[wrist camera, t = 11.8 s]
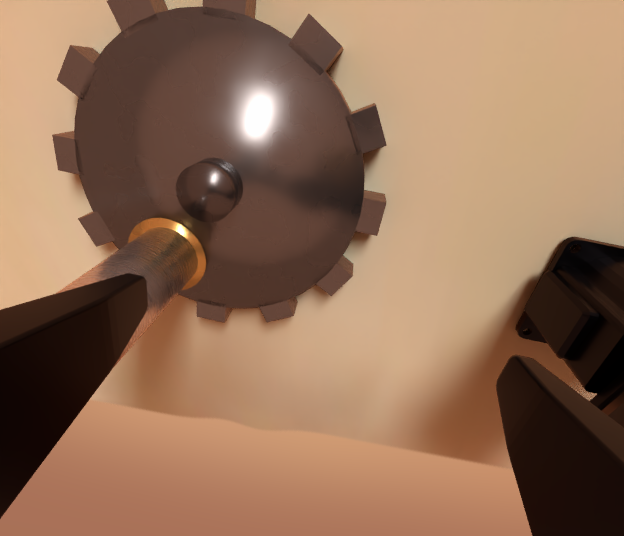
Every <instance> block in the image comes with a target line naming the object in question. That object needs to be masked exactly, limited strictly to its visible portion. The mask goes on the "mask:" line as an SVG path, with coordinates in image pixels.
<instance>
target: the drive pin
mask: <svg viewBox="0 0 624 536" xmlns="http://www.w3.org/2000/svg"><path fill="white" fill-rule="evenodd" d="M197 267H198V259H197V254H196V252H195V249H194V248H193V246H192V244H191V243H190V242H189V241H188V240H187V239H186V238H185V237H184V236H183V235H181V234H180V233H178V232H176V231H174V230H172V229H169V228H164V227H157V228H152V229H149V230H147V231H146V232H144V233H143V234H141V235H140V236H139V237H137V238H136V239H134V240H133V241H131V242H130V243H128V244H127V245H125V246H124V247H123V248H121V249H120V250H118V251H117V252H115V253H114V254H112V255H111V256H110V257H108V258H107V259H105V260H104V261H102V262H101V263H99V264H98V265H96V266H95V267H94V268H92V269H91V270H89V271H88V272H86V273H85V274H83V275H82V276H80V277H79V278H78V279H76V280H75V281H73V282H72V283H70V284H69V285H67V286H66V287H65V288H63V289H62V290H60V291H59V292H57V293H60V292H64V291H67V290H71V289H74V288H77V287H81V286H84V285H88V284H91V283H95V282H98V281H102V280H105V279H108V278H112V277H115V276H119V275H122V274H126V273H131V274H136V275H140V276H143V277H144V278H145V279H146V282H147V297H148V308H147V311H146V313H145V315H144V317H143V319H142V320H141V322H140V324H139V326H138V327H137V329H136V331H135V332H134V334H133V336H132V337H131V339H130V341H129V343H128V344H127V346H126V348H125V349H124V351H123V353H122V354H121V356H120V358H119V359H118V361H117V362H116V364H117V363H118V362H119V361H120V359H121V358H122V357H123V356H124V355H125V354H126V353H127V351H128V350H129V349H130V348H131V347H132V346H133V345H134V343H135V342H136V341H137V340H138V339H139V338H140V337H141V335H142V334H143V333H144V332H145V331H146V330H147V329H148V327H149V326H150V325H151V324H152V323H153V322H154V321H155V319H156V318H157V317H158V316H159V315H160V314H161V313H162V311H163V310H164V309H165V308H166V307H167V306H168V305H169V303H170V302H171V301H172V300H173V299H174V298H175V297H176V295H177V294H178V293H179V292H180V291H181V290H182V288H183V287H184V286H185V285H186V284H187V283H188V282H189V280H190V279H191V278H192V277H193V276H194V274H195V273H196V271H197ZM57 293H56V294H57ZM116 364H115V365H116ZM115 365H114V366H115ZM112 369H113V368H112Z"/></svg>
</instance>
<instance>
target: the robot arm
mask: <svg viewBox="0 0 624 536" xmlns="http://www.w3.org/2000/svg"><path fill="white" fill-rule="evenodd" d="M575 244H577V246H576V247H575V248H574V249H572V250H570V247H571V246H572V245H575ZM147 308H148V297H147V282H146V279H145V278H144V277H143V276H140V275H136V274H131V273H126V274H122V275H119V276H115V277H112V278H108V279H105V280H102V281H98V282H95V283H91V284H88V285H84V286H81V287H77V288H74V289H71V290H67V291H64V292H60V293H57V294H53V295H50V296H46V297H43V298H40V299H36V300H33V301H29V302H26V303H22V304H19V305H16V306H12V307H9V308H5V309H2V310H0V518H1V517H2V516H3V514H4V513H5V512H6V510H7V509H8V508H9V506H10V505H11V504H12V502H13V501H14V500H15V498H16V497H17V495H18V494H19V493H20V492H21V490H22V489H23V488H24V486H25V485H26V484H27V482H28V481H29V479H30V478H31V477H32V476H33V474H34V473H35V472H36V470H37V469H38V467H39V466H40V465H41V464H42V462H43V461H44V459H45V458H46V457H47V455H48V454H49V453H50V451H51V450H52V449H53V447H54V446H55V445H56V443H57V442H58V441H59V439H60V438H61V437H62V435H63V434H64V433H65V431H66V430H67V429H68V427H69V426H70V425H71V423H72V422H73V420H74V419H75V418H76V417H77V415H78V414H79V413H80V411H81V410H82V409H83V407H84V406H85V405H86V403H87V402H88V401H89V399H90V398H91V397H92V395H93V394H94V393H95V391H96V390H97V389H98V387H99V386H100V385H101V383H102V382H103V381H104V379H105V378H106V377H107V375H108V374H109V373H110V371H111V370H112V368H113V367H114V365H115V364H116V362H117V361H118V359H119V358H120V356H121V354H122V353H123V351H124V349H125V348H126V346H127V344H128V343H129V341H130V339H131V337H132V336H133V334H134V332H135V331H136V329H137V327H138V326H139V324H140V322H141V320H142V319H143V317H144V315H145V313H146V311H147ZM524 309H525V311H524V313H523V315H522V316H521V318H520V320H519V322H518V324H517V325H516V332H517V333H518V335H519V336H520V337H522V338H525V339H529V340H534V341H539V342H543V343H548V344H549V346H550V347H551V349H552V350H553V351H554V353H555V354H556V356H557V357H558V358H560V359H563V360H564V361H565V362H566V364H567V365H568V367H569V368H570V369H571V371H572V372H573V373H574V375H575V376H576V378H577V379H578V380H579V382H580V383H581V385H582V386H583V387H584V389H585V390H586V391H588V392H592V393H597V395H596V396H595V397H594V398H593V399H591V400H590V401H588V400H587V399H585V398H584V397H583V396H581V395H580V394H579V393H577V392H576V391H575V390H573V389H572V388H571V387H569V386H568V385H567V384H565V383H564V382H563V381H562V380H560V379H559V378H558V377H556V376H555V375H554V374H552V373H551V372H550V371H548V370H547V369H546V368H544V367H543V366H542V365H540V364H539V363H538V362H537V361H535V360H534V359H532V358H529V357H524V356H519V355H513V356H512V357H510V359H509V360H508V362H507V364H506V365H505V367H504V369H503V371H502V372H501V374H500V376H499V378H498V380H497V384H496V389H497V395H498V401H499V406H500V412H501V417H502V423H503V429H504V434H505V440H506V444H507V449H508V453H509V457H510V460H511V464H512V467H513V471H514V474H515V478H516V481H517V484H518V488H519V491H520V495H521V498H522V501H523V505H524V508H525V512H526V515H527V519H528V522H529V525H530V529H531V532H532V535H533V536H624V246H619V245H614V244H609V243H604V242H599V241H594V240H589V239H584V238H579V237H570V238H567V239H566V240H564V242H563V243H562V244H561V246H560V248H559V250H558V252H557V253H556V255H555V257H554V259H553V261H552V262H551V264H550V266H549V268H548V270H547V271H546V272H545V273H544V274H543V275H542V277H541V279H540V281H539V283H538V284H537V286H536V288H535V290H534V292H533V293H532V295H531V297H530V299H529V301H528V303H527V304H526V306H525V308H524ZM526 328H529V329H528V330H526V331H523V330H524V329H526Z"/></svg>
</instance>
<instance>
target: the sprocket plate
mask: <svg viewBox="0 0 624 536" xmlns="http://www.w3.org/2000/svg"><path fill="white" fill-rule="evenodd" d="M107 3H108V5H109V7H110V9H111V11H112V13H113V15H114V17H115V19H116V21H117V23H118V25H119V27H120V29H121V31H122V32H121V33H120V34H119V35H118V36H116V37H115V38H114V39H113V40H112V41H111V42H110V43H109V44H108V45H107V46H106V47H105V48H104V50H103V51H102V52H101V54H99V53H98V52H97V51H95V50H94V49H93V48H89V47H81V46H73V45H70V47H69V50H68V52H67V55H66V57H65V60H64V63H63V65H62V68H61V70H60V73H59V76H58V78H57V80H58V81H59V82H60V83H61V84H63V85H64V86H65V87H66V88H68V89H69V90H70V91H72V92H73V93H74V94H75V95H77V96H78V97H79V99H78V105H77V110H76V116H75V130H74V131H71V132H65V133H60V134H54V135H52V136H53V142H54V148H55V154H56V160H57V166H58V170H60V171H65V172H70V173H75V174H79V176H80V179H81V182H82V185H83V188H84V191H85V194H86V197H87V199H88V201H89V203H90V206H91V208H92V210H93V212H91V213H89V214H86V215H84V216H82V217H80V218H78V220H79V221H80V223H81V224H82V226H83V227H84V229H85V230H86V232H87V233H88V235H89V236H90V238H91V239H92V241H93V242H94V244H95V245H96V247H97V246H100V245H102V244H105V243H108V242H111V241H112V242H113V243H114V244H115V245H116V246H117V248H118V249H119V250H120V249H121V248H123V247H124V246H125V245H127V244H128V243H130V242H131V241H133V240H134V239H136V238H137V237H139V236H140V235H141V234H143V233H144V232H146V231H147V230H149V229H152V228H157V227H164V228H169V229H172V230H174V231H176V232H178V233H180V234H181V235H183V236H184V237H185V238H186V239H187V240H188V241H189V242H190V243H191V244H192V246H193V248H194V249H195V252H196V254H197V259H198V267H197V271H196V273H195V274H194V276H193V277H192V278H191V279H190V280H189V282H188V283H187V284H186V285H185V286H184V287H183V288H182V290H181V291H180V292H179V293H178V294H179V295H181V296H184V297H187V298H189V299H192V300H194V301H197V317H201V318H206V319H211V320H215V321H220V322H225V321H226V319H227V318H228V316H229V314H230V312H231V310H232V308H256V307H259V308H260V310H261V312H262V314H263V316H264V318H265V320H266V322H271V321H275V320H279V319H283V318H287V317H291V316H294V313H295V310H296V306H297V303H298V302H297V300H296V298H295V296H297V295H299V294H301V293H303V292H304V291H306V290H308V289H309V288H311V287H312V286H314V285H315V284H316V285H318V286H319V287H320V288H322V289H323V290H324V291H325V292H327V293H328V294H329V295H330V296H332V295H333V294H334V293H335V292H336V291H337V290H338V289H339V288H340V287H342V286H343V285H344V284H345V283H346V282H347V281H348V280H349V279H350V278H351V277H352V276H353V263H351V262H350V261H349V260H348V259H347V258H345V257H344V256H343V254H344V252H345V251H346V249H347V248H348V245H349V243H350V241H351V239H352V237H353V235H354V233H355V231H357V232H362V233H366V234H371V235H376V236H377V234H378V231H379V227H380V224H381V220H382V217H383V213H384V209H385V206H386V198H385V194H381V193H376V192H371V191H367V190H364V162H363V153H366V152H369V151H372V150H375V149H378V148H380V147H383V146H386V142H385V138H384V134H383V130H382V126H381V123H380V119H379V115H378V111H377V108H376V104H375V103H374V104H371V105H368V106H366V107H363V108H361V109H358V110H355V111H353V112H351V110H350V108H349V106H348V104H347V102H346V100H345V98H344V96H343V94H342V93H341V91H340V89H339V88H338V86H337V85H336V84H335V82H334V81H333V79H332V78H331V76H330V75H329V73H328V72H327V71H328V69H329V68H330V67H331V65H332V64H333V63H334V61H335V60H336V59H337V57H338V56H339V55H340V53H341V52H342V51H343V47H342V46H341V45H340V44H339V43H338V42H337V41H336V40H335V39H334V38H333V37H332V36H331V35H330V34H329V33H328V32H327V31H326V30H325V29H324V28H323V27H322V26H321V25H320V24H319V23H318V22H317V21H316V20H315V19H314V18H313V17H312V16H311V15H310V14H308V16H307V17H306V19H305V20H304V22H303V23H302V25H301V26H300V28H299V29H298V31H297V32H296V34H295V35H294V37H293V38H292V39H291V38H289V37H287V36H286V35H284V34H283V33H281V32H279V31H278V30H276V29H275V28H273V27H271V26H270V25H267V24H265V23H263V22H261V21H258V20H256V19H255V8H256V0H203V7H186V8H176V9H172V10H168V8H167V6H166V4H165V2H164V0H108V1H107Z"/></svg>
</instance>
